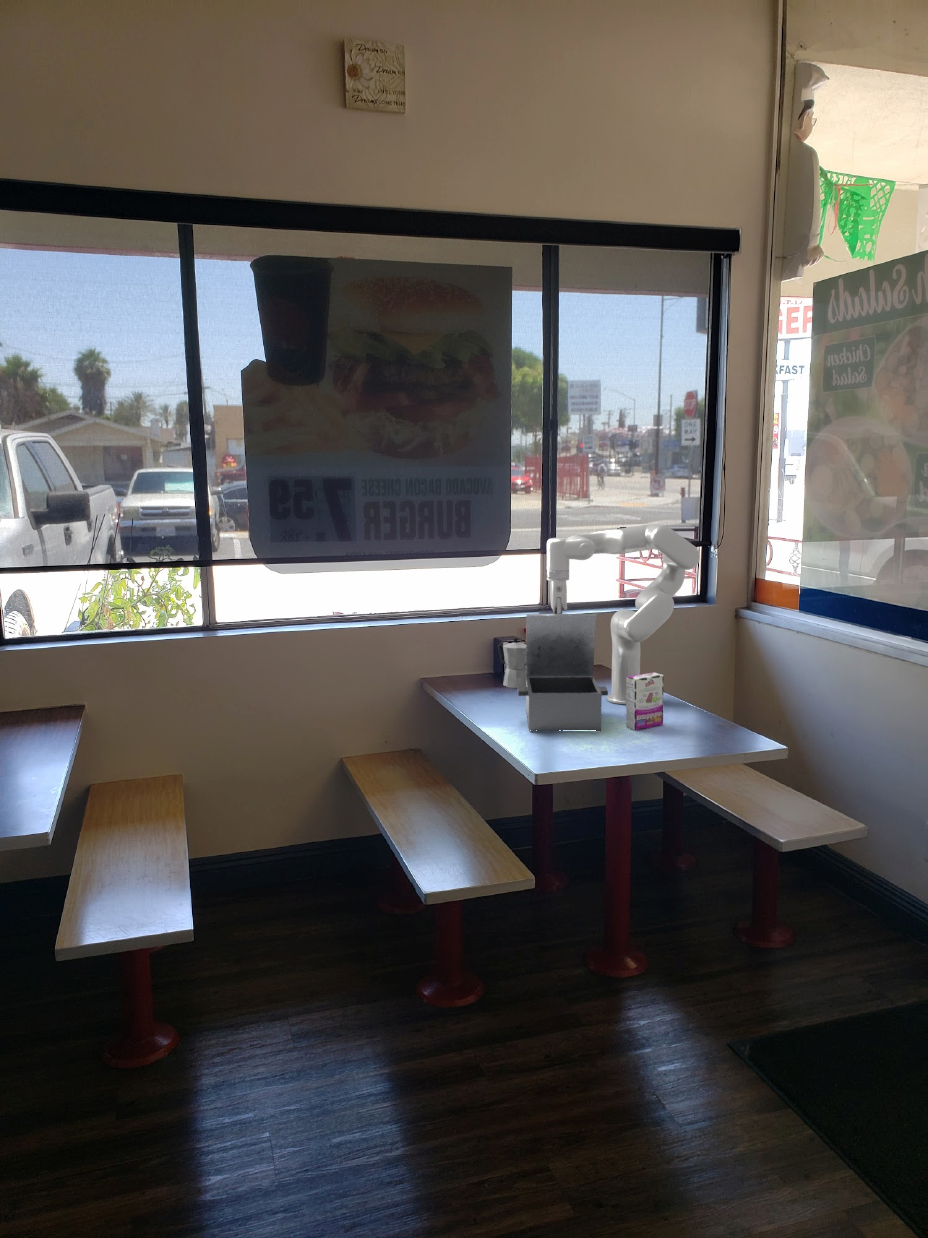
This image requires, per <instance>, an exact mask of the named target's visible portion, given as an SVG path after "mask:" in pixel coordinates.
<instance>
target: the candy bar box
mask: <svg viewBox="0 0 928 1238" xmlns="http://www.w3.org/2000/svg"><path fill="white" fill-rule="evenodd" d="M664 679H665V678H664V674H662V673H657V672H649V673H642V674H641V673H640V675H634V676H628V677H626V704H625V706H626V707H625V709H626V711H625V712H626V713H625V714H626V715H625V719H626V720H625V721H626V722H625V724H626V725H625V727H626V728H627V729H629V728H630V730H633V731H634V732H636V730H637V731H641V730H647V728H648V729H652V728H658V727H663V726H664V684H665V683H664Z"/></svg>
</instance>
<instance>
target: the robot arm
mask: <svg viewBox="0 0 928 1238" xmlns="http://www.w3.org/2000/svg"><path fill="white" fill-rule="evenodd" d="M648 550H649V551H651V550H656V551H659V552H660V553H661V554H662V556H661V557H662V568H661V571H660V573H659V574H658V576H656V577H655V579H653V581H651V582H650V584H648V585H647V586H646V587H645V588H644V589H643V590H642V591H640V592H639V594H638V595H637V597H636V598H635V602H634V603H635V608H636V609H637V610H636V611H634V610H631V609H626V608H625V609H619V610H617V611H616V612H615V613H614V614H613V615H612V616H611V618H610V619H611V620H610V635H611V643H612V644H611V645H612V646H611V649H612V650H611V693H608V695H606V700H607V701H608V702H609V703H612V704H620V705H626V677H628V676H634V675H641V642H644V641H645V640H647V639H648V638H650V637H651V635H653V634H654V633H655V632H656V631H657V630H658V629H660V627H661V626H662V625H663V624H664V623H666V621H667V620H668V619H670V617H671V616H672V613H673V612H674V608H675V601H674V598H673V597H674V596H675V595H676V594H677V593H678V591H680V589H681V588H682V586H683V584H684V581H685V575H686V571H689V570H693V569H694V568H696V567H697V566H698V565H699V563H700V560H701V555H700V552H699V549H697V547H696V546H695V545H693V544H692V543H691V542H690V541H688V540H687V539H686V538H684V537H683V536H681V535H680V534H679V533H678V532H676V531H675V530H674V529H672V528H671V527H669V526H667V525H664V524H657V523H649V524H642V525H635V526H631V527H630V526H629V527H622V528H616V529H615V528H614V529H607V530H601V531H595V532H592V531H591V532H587V533H580V534H574V535H573V534H572V535H570V536H568V537H567V538H565V537H551V538H548V540H547V541H546V581H549V599H550V600H549V601H550V607H551V609H552V614H563V609H564V611H567V610H568V601H567V600H568V599H567V598H568V590H567V589H568V587H567V581H569V580H570V560H574V561H575V560H578V561H587V560H588V559H590V558H592V557H593V555H597V554H599V555H600V554H608V555H624V554H630V553H635V552H637V553H638V552H643V551H648Z"/></svg>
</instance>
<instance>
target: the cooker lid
mask: <svg viewBox="0 0 928 1238" xmlns="http://www.w3.org/2000/svg"><path fill="white" fill-rule="evenodd" d="M596 625H597V614H596V613H562V614H553V613H532V614H531V613H528V614H527V613H526V626H525V627H526V638H525V641H526V642H525V643H526V644H525V645H526V663H525V669H526V677H594V666H595V644H596V642H595V641H596Z"/></svg>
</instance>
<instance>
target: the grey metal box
mask: <svg viewBox="0 0 928 1238" xmlns="http://www.w3.org/2000/svg"><path fill="white" fill-rule="evenodd" d="M608 695H609V691H608V688H607V687H606V685H605V686H604V685H603V686H600V685H598V684H597V682H596V680H595V677H594V676H567V677H526V687H518V688H517V696H518V697H521V696H524V697H525V715H527V716H526V722H527V726H528V732H529V731H530V730H531V731H536V730H537V731H559V730H561V731H563V730H596V731H601V732H602V696H608Z"/></svg>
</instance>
